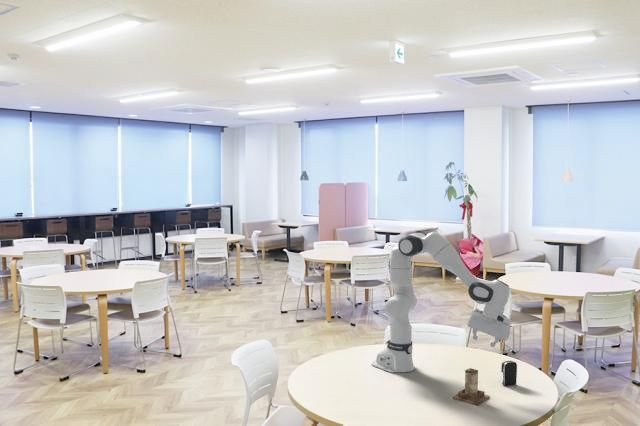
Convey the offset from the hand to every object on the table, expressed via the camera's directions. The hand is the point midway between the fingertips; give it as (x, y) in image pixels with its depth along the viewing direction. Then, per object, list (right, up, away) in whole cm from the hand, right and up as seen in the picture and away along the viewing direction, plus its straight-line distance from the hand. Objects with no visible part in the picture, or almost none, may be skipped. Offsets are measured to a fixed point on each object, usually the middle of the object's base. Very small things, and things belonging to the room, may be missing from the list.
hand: (483, 343), depth 268 cm
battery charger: (+14, -22, +8) cm, 27 cm away
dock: (-8, -23, -9) cm, 26 cm away
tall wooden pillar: (-8, -22, -9) cm, 25 cm away
